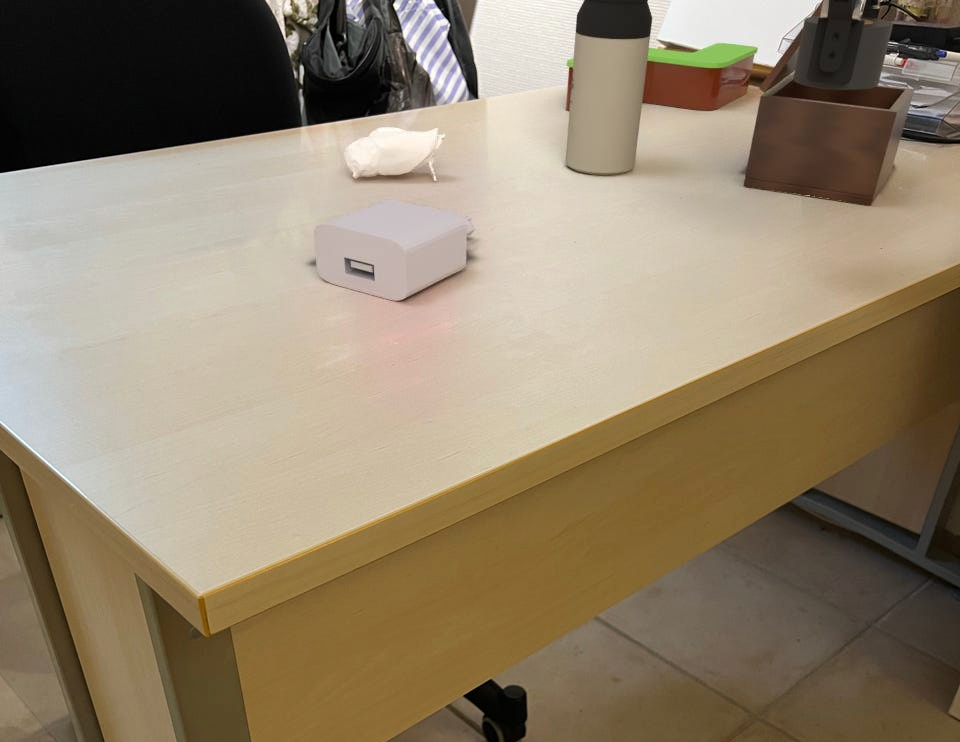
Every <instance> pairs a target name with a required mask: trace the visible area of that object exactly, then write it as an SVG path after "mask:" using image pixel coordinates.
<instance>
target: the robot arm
mask: <svg viewBox="0 0 960 742" xmlns="http://www.w3.org/2000/svg"><path fill="white" fill-rule="evenodd" d="M881 1H882V0H824V1H823V5H822V9H821V15H820V17H819V18H818V23H817V28H816V33H815V38H814V43H813V48H812V53H811V58H810V63H809V68H808V73H807V79H808V80H809V81H811V82H822V83H833V84H848V83H849V82H850V81H851V79H852V75H853V71H854V67H855V62H856V58H857V53H858V49H859V45H860V40H861V36H862V32H863V27H864V23H865V20H860V19H861V17H870V18H877V19H879V17H880V13H881V8H879V7H880V5H881Z"/></svg>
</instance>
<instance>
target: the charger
mask: <svg viewBox="0 0 960 742" xmlns="http://www.w3.org/2000/svg"><path fill="white" fill-rule="evenodd" d="M471 221H472V217H471V216H469V215H467V216H464V215H463V214H461V213H460V212H457V211H452V210H448V209H443V208H439V207H436V208H433V207H427V206H423V205H419V204H414V203H410V202H405V201H401V200H396V199H390V198H389V199H383V200H381V201H378V202H375V203H372V204H370V205H368V206H364V207H362V208H359V209H357V210H354V211H352V212H349V213H346V214H344V215H341V216H338V217H336V218H333V219H331V220H328V221H326V222H323V223H320V224H318V225H316V226H314V229H313V239H314V240H313V241H314V252H315V253H314V254H315V264H316V271H317V274H318V275H319V277H320V278H321V279H323V280H324V281H325V282H327V283H329V284H332V285H335V286H339V287H341V288H346V289H348V290H349V289H350V290H352V291H357V292H359V293H364V294H367V295H371V296H374V297H378V298H382V299H385V300H390V301H402V300H404V299H406V298H409V297H410V296H412V295H414V294H416V293H419V292H420V291H422V290H424V289H426V288H428V287H430V286H432V285H434V284H436V283H438V282H440V281H442V280H444V279H446V278H448V277H449V276H453V275H454V274H456V273H458V272H460V271H461V270H464V269H465V268H466V267H467V245H468V244H467V243H468V241H467V237H469V236H471V235H472V234H473V233H474V232H475V231H476V228H475V226H474V224H473V223H472V222H471Z"/></svg>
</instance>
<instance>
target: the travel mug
mask: <svg viewBox="0 0 960 742" xmlns="http://www.w3.org/2000/svg"><path fill="white" fill-rule="evenodd" d="M648 1H649V0H583V2H582V4H581V6H580V8H579V9H578V12H577V14H576V23H575V35H574V47H573V48H574V49H573V58H574V59H573V58H572V59H573V72H572V85H571V98H570V111H568V125H567V138H566V150H565V164H566V165H567V166H568V167H569V168H570V169H572V170H574V171H576V172H579V173H582V174H587V175H596V176H616V175H622V174H625V173H628V172H630V171H631V170H633V169H634V168H635V164H636V156H637V148H638V140H639V131H640V123H641V115H642V108H643V107H642V106H643V102H642V100H643V91H644V83H645V75H646V67H647V58H648V50H649V48H650V42H651V41H650V40H651V32H652V24H653V15H652V12H651V9H650V6H649V2H648Z"/></svg>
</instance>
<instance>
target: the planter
mask: <svg viewBox="0 0 960 742" xmlns="http://www.w3.org/2000/svg"><path fill="white" fill-rule="evenodd" d="M757 53H758V47H757V46H753V45H752V46H751V45H743V44H734V43H726V42H717V43H714V44H712V45H708V46H706V47H704V48H701V49H699V50H696V51H694V52H689V51H688V52H687V51H679V50H670V49H662V48H655V47H649V50H648V58H647V67H646V75H645V83H644V91H643V100H642V104H644V103H645V104H650V105H658V106H665V107H673V108H677V109H678V108H679V109H687V110H692V111H705V112H706V111H707V112H708V111H715V110H716V111H717V110H718V109H721V108H722V107H724V106H726V105H728V104H730V103H732V102H734V101H735V100H737V99H738V98H740V97H742V96H745V95H746V94H748V91H749V87H750V81H751V75H752V71H753V65H754V60H755V54H757ZM573 59H574V57H573V58H570V59H568V60H566V67H568V75H567V87H566V99H565V100H566V101H565V110H566V111H567V112H569V111H570V98H571V85H572V72H573Z"/></svg>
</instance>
